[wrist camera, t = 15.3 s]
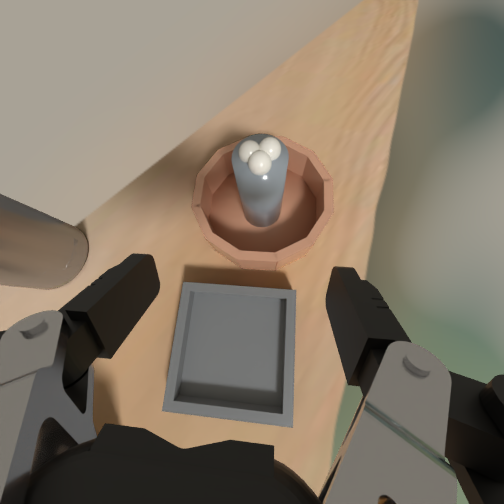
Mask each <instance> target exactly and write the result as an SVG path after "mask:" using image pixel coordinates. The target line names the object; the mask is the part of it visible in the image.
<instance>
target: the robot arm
mask: <svg viewBox="0 0 504 504" xmlns="http://www.w3.org/2000/svg"><path fill="white" fill-rule="evenodd" d="M87 253H88V243H87V240H86V237H85V235H84V234H83V233H82V232H81V231H80V230H79V229H78V228H76V227H74V226H72V225H69V224H67V223H65V222H63V221H60V220H58V219H56V218H54V217H51V216H49V215H47V214H45V213H43V212H40V211H38V210H36V209H33V208H31V207H29V206H27V205H24V204H22V203H20V202H17V201H15V200H13V199H11V198H8V197H6V196H4V195H2V194H0V285H5V286H14V287H25V288H36V289H55V288H58V287H60V286H63V285H64V284H66V283H68V282H69V281H71V280H72V279H73V278H74V277H75V276H76V275H77V274H78V273H79V272H80V270H81V269H82V267H83V265H84V263H85V261H86V258H87ZM159 289H160V281H159V277H158V273H157V269H156V265H155V261H154V258H153V256H152V255H149V254H131V255H130V256H129V257H127V258H126V259H125V260H124V261H123V262H122V263H120V264H119V265H117V266H115V267H113V268H111V269H109V270H107V271H106V272H105V273H104V274H102V275H101V276H100V277H99V279H96V280H95V281H94V282H93V283H91V286H88V287H86V288H85V289H84V290H83V291H82V292H80V293H79V294H78V295H77V296H75V297H74V298H73V299H72V300H71V301H69V302H68V303H67V304H66V305H64V306H63V307H62V308H61V309H60V310H58V311H54V310H51V311H43V312H39V313H36V314H33V315H31V316H28V317H26V318H24V319H22V320H20V321H19V322H17V323H16V324H14V325H13V326H11V327H10V328H9V329H8V330H6V331H0V504H456V502H457V479H458V481H459V483H460V485H461V487H462V490H463V492H464V494H465V496H466V498H467V500H468V502H469V504H504V375H497V376H495V377H494V378H493V379H492V380H491V381H490V382H489V383H488V384H485V383H482V382H479V381H476V380H474V379H471V378H467V377H465V376H462V375H459V374H456V373H453V372H451V371H448V370H447V368H446V367H445V365H444V364H443V363H442V362H441V361H440V360H439V359H438V358H437V357H436V356H435V355H433V354H432V353H431V352H429V351H428V350H426V349H425V348H423V347H420V346H419V345H416V344H414V343H412V342H411V340H410V339H409V337H408V336H407V335H406V333H405V331H404V330H403V328H402V327H401V325H400V323H399V322H398V321H397V319H396V317H395V316H394V314H393V313H392V311H391V310H390V309H389V306H388V305H387V303H386V302H385V301H384V300H383V297H382V296H381V294H380V293H379V291H378V289H376V288H375V287H374V286H373V285H372V284H370V283H369V282H368V281H367V280H361V279H360V277H359V276H358V274H357V272H356V270H355V269H354V268H351V267H333V269H332V273H331V277H330V281H329V285H328V289H327V293H326V309H327V313H328V316H329V320H330V323H331V327H332V330H333V334H334V338H335V341H336V345H337V348H338V352H339V355H340V359H341V362H342V366H343V369H344V373H345V376H346V380H347V383H348V385H352V386H360V388H361V391H362V393H363V397H362V399H361V401H360V403H359V406H358V408H357V410H356V413H355V415H354V417H353V420H352V422H351V424H350V426H349V429H348V431H347V433H346V436H345V438H344V440H343V442H342V445H341V447H340V449H339V451H338V454H337V456H336V458H335V460H334V462H333V464H332V467H331V469H330V471H329V473H328V475H327V477H326V480H325V482H324V484H323V486H322V489H321V491H320V493H319V496H318V497H317V496H316V494H315V493H314V492H313V491H312V489H311V488H310V487H309V486H308V485H307V484H306V483H305V481H304V480H303V479H301V478H300V477H299V476H298V475H297V474H296V473H295V472H294V471H293V470H291V469H290V468H288V467H287V466H286V465H284V464H283V463H281V462H279V461H277V460H275V459H274V446H273V445H265V444H258V443H250V442H243V441H235V440H227V441H222V442H217V443H212V444H207V445H203V446H198V447H193V448H188V449H182V448H179V447H177V446H175V445H173V444H171V443H170V442H168V441H166V440H164V439H162V438H161V437H159V436H157V435H155V434H153V433H152V432H150V431H148V430H146V429H144V428H137V427H129V426H121V425H114V424H106V423H105V424H104V426H103V428H102V429H101V431H100V433H99V435H98V436H97V435H96V431H95V428H94V424H93V388H94V367H93V365H92V363H93V361H94V360H95V359H96V358H97V357H98V358H108V359H111V358H112V357H113V355H114V354H115V352H116V351H117V350H118V348H119V347H120V346H121V344H122V343H123V341H124V340H125V339H126V337H127V336H128V335H129V333H130V332H131V331H132V329H133V328H134V326H135V325H136V324H137V322H138V321H139V320H140V318H141V317H142V315H143V314H144V313H145V311H146V310H147V309H148V307H149V306H150V305H151V303H152V302H153V300H154V299H155V298H156V296H157V295H158V293H159ZM445 457H446V458H448V460H449V463H450V464H448V463H447V462H445ZM456 477H457V478H456Z"/></svg>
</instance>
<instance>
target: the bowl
mask: <svg viewBox="0 0 504 504" xmlns="http://www.w3.org/2000/svg"><path fill="white" fill-rule="evenodd" d="M274 137H276V138H278V139H279V140H281V141H282V142H283V143H284V144H285V146H286V148H287V150H288V154H289V160H288V166H287V173H286V180H285V187H284V194H283V200H282V207H281V214H280V217H279V218H278V220H277V221H276V222H275V223H274V224H272V225H270V226H268V227H256V226H253V225H251V224H250V223H249V222H248V221H247V220H246V219H245V217H244V213H243V209H242V204H241V200H240V196H239V191H238V187H237V183H236V178H235V174H234V170H233V165H232V153H233V150H234V148H235V147H236V145H237V144H238V143H239V142H240V141H241V140H243V139H244V138H243V139H241V140H238V141H236V142H234V143H232V144H229V145H227V146H225V147H222V148H220V149H218V150H217V151H216V152H215V154H214V155H213V156H212V157H211V158H210V160H209V161H208V162H207V163H206V164H205V166H204V167H203V168H202V169H201V170H200V172H199V173H198V174H197V177H196V183H195V188H194V194H193V200H192V206H191V207H192V210H193V212H194V214H195V216H196V219H197V221H198V223H199V226H200V228H201V230H202V232H203V235H204V237H205V239H206V240H207V241H208V242H209V243H210V245H211V246H212V247H213V248H214V249H215V251H217V252H218V253H220V254H221V255H223V256H224V257H225V258H227V259H228V260H230V261H231V262H233V263H234V264H236V265H237V266H239V267H240V268H242V269H257V270H272V271H276V270H278V269H280V268H282V267H284V266H286V265H288V264H290V263H292V262H294V261H296V260H298V259H300V258H302V257H304V256H306V254H307V253H308V251H309V250H310V249H311V247H312V246H313V244H314V243H315V241H316V240H317V238H318V237H319V235H320V234H321V232H322V231H323V229H324V227H325V226H326V224H327V223H328V221H329V220H330V218H331V217H332V215H333V213H334V205H333V178H332V177H331V175H330V174H329V173H328V171H327V170H326V168H325V167H324V165H323V164H322V162H321V161H320V160H319V158H318V157H317V155H316V154H315V152H313V151H312V150H310V149H308V148H306V147H304V146H302V145H300V144H298V143H296V142H294V141H292V140H290V139H288V138H286V137H283V136H274ZM245 138H246V137H245Z"/></svg>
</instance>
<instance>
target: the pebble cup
mask: <svg viewBox="0 0 504 504" xmlns="http://www.w3.org/2000/svg"><path fill="white" fill-rule="evenodd" d="M288 160H289V154H288V150H287V148H286V146H285V144H284V143H283V142H282V141H281V140H279V139H278V138H276V137H274V136H272V135H268V134H255V135H251V136H248V137H246V138H244V139H243V140H241V141H240V142H239V143H238V144H237V145H236V147H235V148H234V150H233V153H232V165H233V170H234V174H235V178H236V183H237V187H238V191H239V196H240V200H241V204H242V209H243V213H244V217H245V219H246V220H247V221H248V222H249V223H250V224H251V225H253V226H256V227H268V226H270V225H272V224H274V223H275V222H276V221H277V220H278V218H279V217H280V214H281V207H282V200H283V194H284V187H285V180H286V173H287V166H288Z"/></svg>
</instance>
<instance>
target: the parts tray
mask: <svg viewBox="0 0 504 504" xmlns="http://www.w3.org/2000/svg"><path fill="white" fill-rule="evenodd" d="M295 319H296V290H288V289H274V288H261V287H247V286H234V285H220V284H207V283H193V282H183V287H182V293H181V299H180V305H179V311H178V317H177V323H176V329H175V335H174V341H173V347H172V353H171V359H170V366H169V372H168V378H167V384H166V390H165V396H164V402H163V408H162V411H165V412H173V413H181V414H189V415H197V416H204V417H212V418H220V419H228V420H236V421H244V422H252V423H260V424H268V425H275V426H283V427H291V428H293V401H294V360H295Z"/></svg>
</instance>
